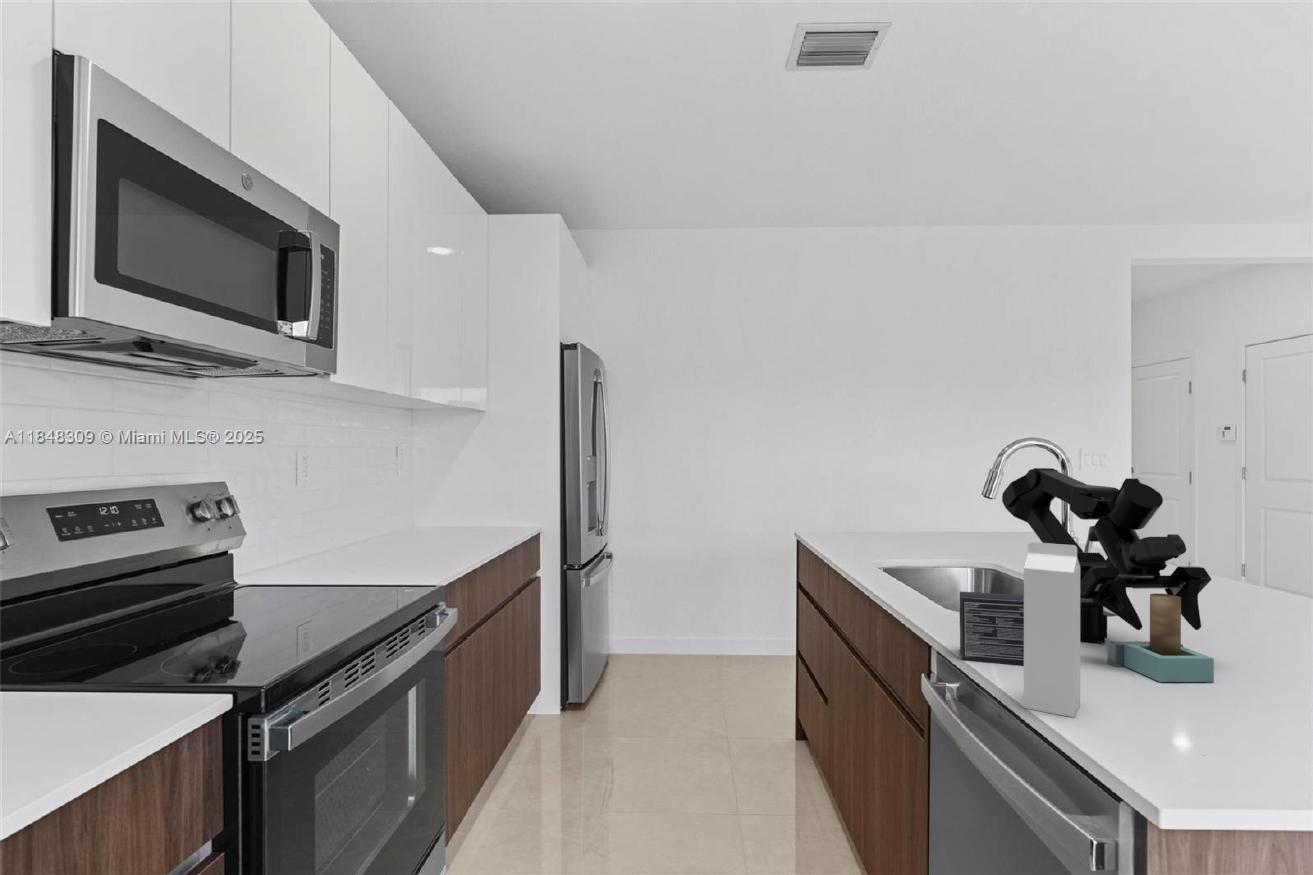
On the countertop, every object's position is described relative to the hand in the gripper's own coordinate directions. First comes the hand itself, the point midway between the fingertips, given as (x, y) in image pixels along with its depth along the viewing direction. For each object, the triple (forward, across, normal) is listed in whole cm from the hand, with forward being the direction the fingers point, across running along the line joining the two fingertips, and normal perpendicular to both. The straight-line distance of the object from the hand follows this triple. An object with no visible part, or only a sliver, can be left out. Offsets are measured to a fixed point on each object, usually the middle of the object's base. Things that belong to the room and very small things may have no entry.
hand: (1169, 628), depth 116 cm
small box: (-2, -23, +12) cm, 26 cm away
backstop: (+1, 0, +9) cm, 9 cm away
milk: (+15, -26, -4) cm, 30 cm away
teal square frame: (+5, 0, +5) cm, 7 cm away
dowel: (+4, 0, +6) cm, 7 cm away
